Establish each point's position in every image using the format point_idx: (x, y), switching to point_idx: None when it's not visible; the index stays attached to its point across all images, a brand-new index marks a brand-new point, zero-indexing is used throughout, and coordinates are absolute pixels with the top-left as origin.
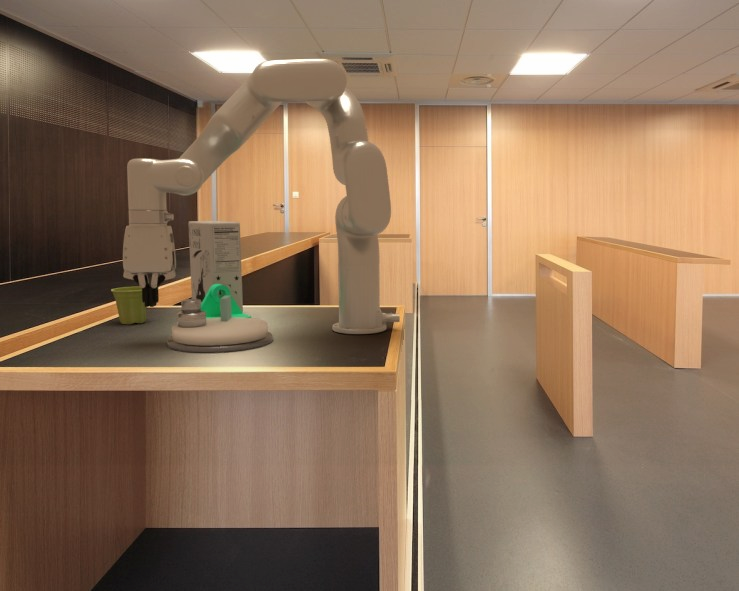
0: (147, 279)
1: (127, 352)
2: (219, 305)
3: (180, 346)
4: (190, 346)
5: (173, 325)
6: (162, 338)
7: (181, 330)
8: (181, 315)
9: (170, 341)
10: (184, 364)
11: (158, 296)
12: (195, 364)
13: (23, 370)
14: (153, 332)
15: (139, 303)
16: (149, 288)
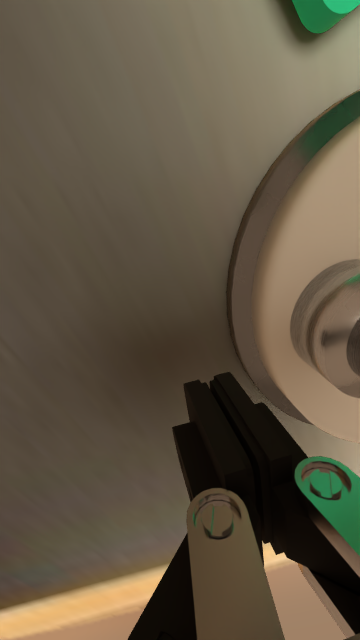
0: (261, 579)
1: (157, 452)
2: None
3: (305, 422)
4: None
5: (272, 333)
6: (168, 238)
7: (326, 414)
8: (349, 394)
9: (257, 370)
10: None
11: (276, 419)
12: None
13: (17, 630)
14: (47, 79)
15: None
16: (276, 553)
